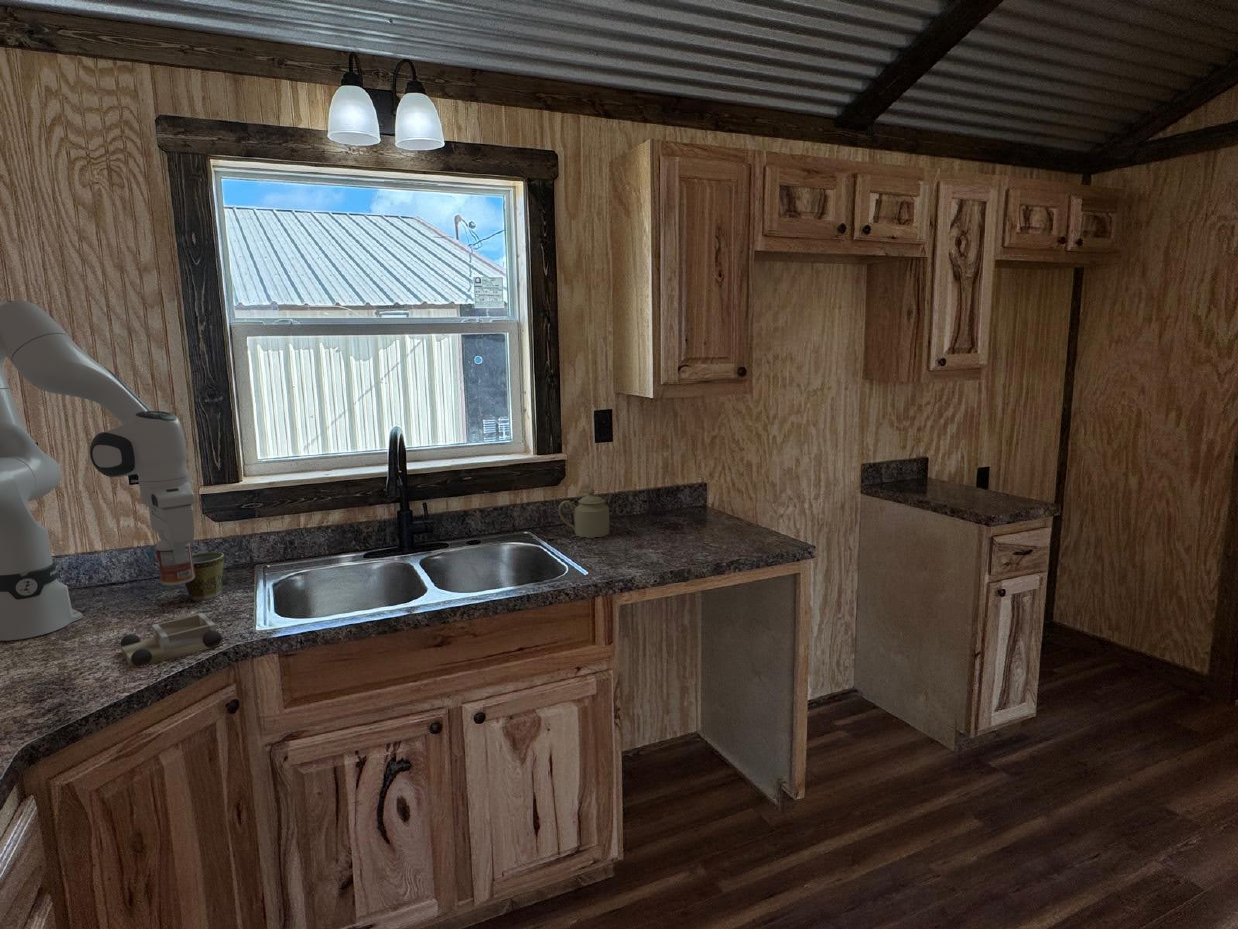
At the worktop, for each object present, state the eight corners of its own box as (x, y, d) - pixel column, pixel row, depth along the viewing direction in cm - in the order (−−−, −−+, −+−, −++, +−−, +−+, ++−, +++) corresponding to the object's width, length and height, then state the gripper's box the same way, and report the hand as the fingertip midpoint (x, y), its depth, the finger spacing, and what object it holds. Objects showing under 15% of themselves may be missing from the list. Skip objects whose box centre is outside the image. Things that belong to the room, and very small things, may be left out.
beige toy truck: (121, 652, 154) (118, 631, 153) (207, 630, 164) (205, 611, 164) (132, 669, 146) (129, 647, 145) (222, 645, 156) (220, 624, 156)
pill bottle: (169, 577, 157) (162, 525, 155) (200, 575, 158) (194, 524, 156) (155, 587, 151) (147, 533, 149) (187, 585, 152) (179, 531, 150)
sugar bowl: (571, 542, 229) (570, 493, 227) (558, 534, 239) (556, 487, 236) (615, 535, 236) (614, 488, 233) (600, 527, 245) (599, 482, 243)
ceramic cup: (234, 595, 188) (230, 556, 186) (191, 606, 180) (186, 566, 179) (214, 584, 196) (210, 547, 195) (172, 594, 189) (167, 556, 187)
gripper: (137, 487, 157) (146, 551, 159) (160, 501, 142) (169, 572, 144) (171, 483, 161) (179, 545, 163) (197, 496, 146) (205, 564, 148)
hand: (175, 558), depth 153 cm, fingers closed on pill bottle, 6 cm apart
